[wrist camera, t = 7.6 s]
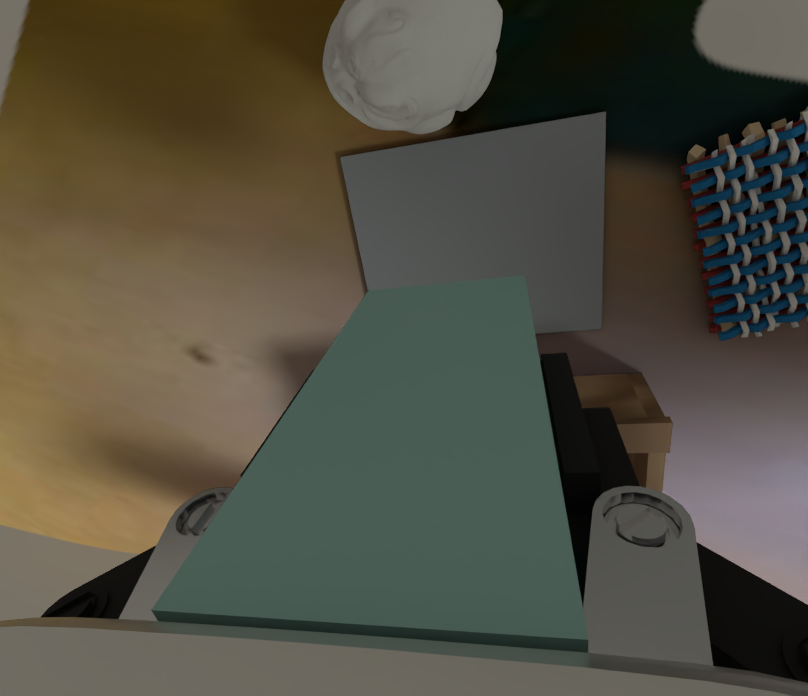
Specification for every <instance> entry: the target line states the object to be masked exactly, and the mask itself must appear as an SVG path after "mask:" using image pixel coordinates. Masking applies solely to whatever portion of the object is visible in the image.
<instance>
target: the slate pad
mask: <svg viewBox="0 0 808 696" xmlns="http://www.w3.org/2000/svg"><path fill="white" fill-rule="evenodd" d="M605 143H606V112H600V113H594V114H588V115H582V116H576V117H570V118H565V119H559V120H553V121H547V122H541V123H535V124H530V125H524V126H518V127H512V128H506V129H500V130H494V131H489V132H483V133H477V134H471V135H465V136H459V137H454V138H448V139H442V140H436V141H430V142H424V143H419V144H413V145H407V146H401V147H395V148H389V149H383V150H378V151H372V152H366V153H360V154H354V155H348V156H343V157H340V159H341V164H342V169H343V174H344V178H345V183H346V188H347V193H348V198H349V203H350V207H351V212H352V217H353V222H354V227H355V231H356V236H357V241H358V246H359V251H360V255H361V260H362V265H363V270H364V275H365V280H366V284H367V289H368V291H370V290H380V289H390V288H400V287H410V286H420V285H430V284H440V283H450V282H460V281H470V280H480V279H489V278H499V277H509V276H519V275H525V278H526V284H527V290H528V295H529V301H530V307H531V313H532V318H533V324H534V330H535V334H539V333H553V332H567V331H581V330H595V329H602V292H603V242H604V192H605Z"/></svg>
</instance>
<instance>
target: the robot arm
mask: <svg viewBox="0 0 808 696" xmlns="http://www.w3.org/2000/svg"><path fill="white" fill-rule="evenodd" d="M540 364H541V370H542V376H543V382H544V387H545V393H546V399H547V405H548V410H549V416H550V422H551V428H552V433H553V439H554V445H555V450H556V456H557V462H558V468H559V473H560V479H561V485H562V491H563V496H564V502H565V508H566V514H567V519H568V525H569V531H570V537H571V542H572V548H573V554H574V560H575V565H576V571H577V577H578V583H579V588H580V594H581V600H582V606H583V611H584V617H585V623H586V628H587V634H588V653H584V652H574V651H561V650H548V649H535V648H522V647H510V646H497V645H484V644H471V643H458V642H446V641H433V640H420V639H406V638H393V637H379V636H365V635H352V634H338V633H324V632H310V631H296V630H282V629H268V628H254V627H238V626H223V625H208V624H193V623H178V622H162V621H157V619H156V617H155V616H154V614H153V612H152V611H151V610H152V608H153V607H154V605H155V604H156V602H157V601H158V599H159V598H160V596H161V595H162V593H163V592H164V590H165V589H166V588H167V586H168V585H169V583H170V582H171V580H172V579H173V577H174V576H175V574H176V573H177V571H178V570H179V568H180V567H181V565H182V564H183V563H184V561H185V560H186V558H187V557H188V555H189V554H190V552H191V551H192V549H193V548H194V546H195V545H196V543H197V542H198V540H199V539H200V538H201V536H202V535H203V533H204V532H205V530H206V529H207V527H208V526H209V524H210V523H211V521H212V520H213V518H214V517H215V515H216V514H217V513H218V511H219V510H220V508H221V507H222V505H223V504H224V502H225V501H226V499H227V498H228V496H229V495H230V493H231V492H232V490H233V489H234V488H229V487H219V488H214V489H210V490H206V491H204V492H202V493H200V494H197V495H195V496H194V497H192V498H191V499H189V500H188V501H186V502H185V503H184V504H183V505H181V506H180V507H179V508H178V509H177V510H176V511H175V513H174V514H173V516H172V517H171V519H170V520H169V522H168V524H167V526H166V528H165V530H164V532H163V534H162V536H161V538H160V540H159V542H158V544H157V545H156V546H154V547H152V548H151V549H149V550H147V551H145V552H143V553H141V554H139V555H138V556H136V557H134V558H132V559H130V560H128V561H126V562H124V563H123V564H121V565H119V566H117V567H115V568H113V569H111V570H110V571H108V572H106V573H104V574H102V575H100V576H98V577H97V578H95V579H93V580H91V581H89V582H87V583H85V584H84V585H82V586H80V587H78V588H76V589H74V590H73V591H71V592H69V593H68V594H66V595H65V596H63V597H62V598H60V599H59V600H58V601H57V602H55V603H54V604H53V605H52V606H51V607H49V608H48V609H47V611H46V612H45V613H44V614H43V615H42V616H41V617H40V618H27V619H15V620H6V621H0V696H808V605H807V604H805V603H803V602H801V601H800V600H798V599H796V598H794V597H793V596H791V595H789V594H787V593H786V592H784V591H782V590H780V589H778V588H777V587H775V586H773V585H771V584H770V583H768V582H766V581H764V580H763V579H761V578H759V577H757V576H755V575H754V574H752V573H750V572H748V571H747V570H745V569H743V568H741V567H740V566H738V565H736V564H734V563H732V562H731V561H729V560H727V559H725V558H724V557H722V556H720V555H718V554H717V553H715V552H713V551H711V550H709V549H708V548H706V547H704V546H702V545H701V544H699V543H697V542H696V535H695V528H694V525H693V522H692V519H691V516H690V515H689V514H688V512H687V511H686V510H685V509H684V507H683V506H682V505H681V504H679V503H678V502H677V501H675V500H674V499H672V498H671V497H670V496H668V495H665V494H663V493H661V492H659V491H657V490H653V489H649V488H645V487H641V486H640V485H639V482H638V480H637V477H636V474H635V472H634V469H633V466H632V464H631V461H630V459H629V456H628V453H627V451H626V448H625V445H624V443H623V440H622V437H621V435H620V432H619V430H618V427H617V424H616V422H615V419H614V416H613V414H612V411H611V409H610V408H609V407H599V408H582V405H581V402H580V398H579V395H578V391H577V388H576V384H575V381H574V377H573V374H572V371H571V367H570V364H569V360H568V357H567V354H566V353H556V354H541V361H540ZM314 370H315V369H314ZM314 370H313V371H314ZM313 371H312V372H311V374H312V373H313ZM311 374H310V375H309V376H308V378H307V379H306V381H305V382H304V384H303V385H302V387H301V388H300V390H301V389H302V388H303V386H304V385H305V383H306V382H307V380H308V379H309V377H310V376H311ZM300 390H299V391H298V392H297V394H296V395H295V397H294V398H293V400H292V401H291V403H290V404H289V406H288V407H287V409H286V410H285V411H284V413H283V414H282V416H281V417H280V419H279V420H278V422H277V423H276V425H275V426H274V427H273V429H272V430H271V432H270V433H269V435H268V436H267V438H266V439H265V441H264V442H263V443H262V445H261V446H260V448H259V449H258V451H257V452H256V454H255V455H254V457H253V458H252V459H251V461H250V462H249V464H248V465H247V467H246V468H245V470H244V471H243V473H242V474H241V475H240V476H241V477H242V476H243V474H244V473H245V471H246V470H247V468H248V467H249V465H250V464H251V463H252V461H253V460H254V458H255V457H256V455H257V454H258V452H259V451H260V449H261V448H262V446H263V445H264V443H265V442H266V440H267V439H268V438H269V436H270V435H271V433H272V432H273V430H274V429H275V427H276V426H277V424H278V423H279V421H280V420H281V418H282V417H283V415H284V414H285V413H286V411H287V410H288V408H289V407H290V405H291V404H292V402H293V401H294V399H295V398H296V396H297V395H298V393H299V392H300Z"/></svg>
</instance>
